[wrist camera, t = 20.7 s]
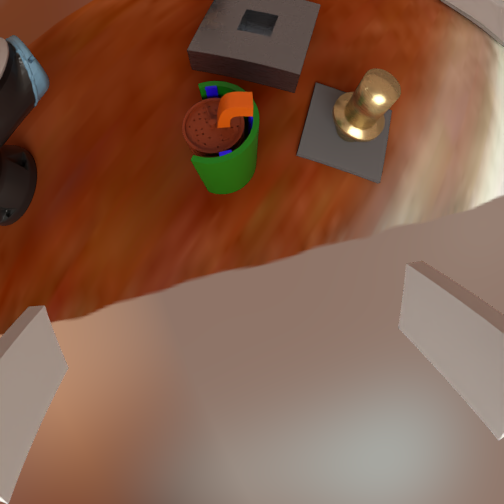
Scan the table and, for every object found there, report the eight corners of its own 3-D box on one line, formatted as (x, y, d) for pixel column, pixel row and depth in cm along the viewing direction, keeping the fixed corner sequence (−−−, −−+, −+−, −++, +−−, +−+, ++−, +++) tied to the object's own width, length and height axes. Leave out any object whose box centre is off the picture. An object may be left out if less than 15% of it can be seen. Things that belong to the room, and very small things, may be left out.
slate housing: (192, 69, 49) (187, 50, 43) (224, 4, 49) (223, -16, 43) (294, 93, 49) (300, 74, 43) (314, 24, 50) (320, 4, 44)
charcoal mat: (296, 155, 48) (297, 153, 48) (315, 84, 49) (316, 82, 48) (378, 183, 49) (380, 182, 48) (389, 112, 49) (391, 110, 48)
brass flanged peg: (319, 142, 48) (347, 96, 33) (330, 102, 48) (357, 50, 33) (366, 159, 48) (408, 122, 33) (374, 119, 48) (412, 75, 34)
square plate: (434, -38, 52) (438, -45, 49) (504, 10, 53) (510, 5, 49) (428, -1, 51) (434, -9, 48) (509, 58, 52) (517, 52, 48)
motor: (192, 138, 48) (164, 70, 28) (248, 126, 48) (251, 52, 28) (204, 199, 48) (178, 157, 28) (262, 186, 48) (275, 136, 28)
